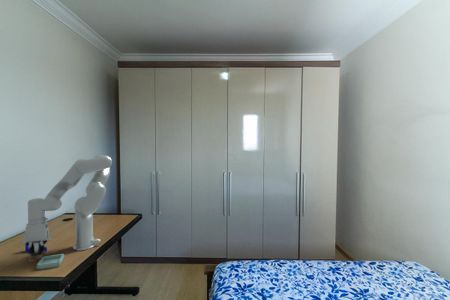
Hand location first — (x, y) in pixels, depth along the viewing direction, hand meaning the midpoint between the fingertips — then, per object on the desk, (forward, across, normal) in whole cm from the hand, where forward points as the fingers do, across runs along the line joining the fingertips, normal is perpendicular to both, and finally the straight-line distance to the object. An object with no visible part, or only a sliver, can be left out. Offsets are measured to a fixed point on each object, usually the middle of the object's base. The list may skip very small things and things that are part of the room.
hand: (37, 252), depth 134 cm
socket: (+4, 0, 0) cm, 4 cm away
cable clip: (+4, +4, -11) cm, 12 cm away
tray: (+4, -9, +9) cm, 13 cm away
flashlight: (+4, 0, 0) cm, 4 cm away
